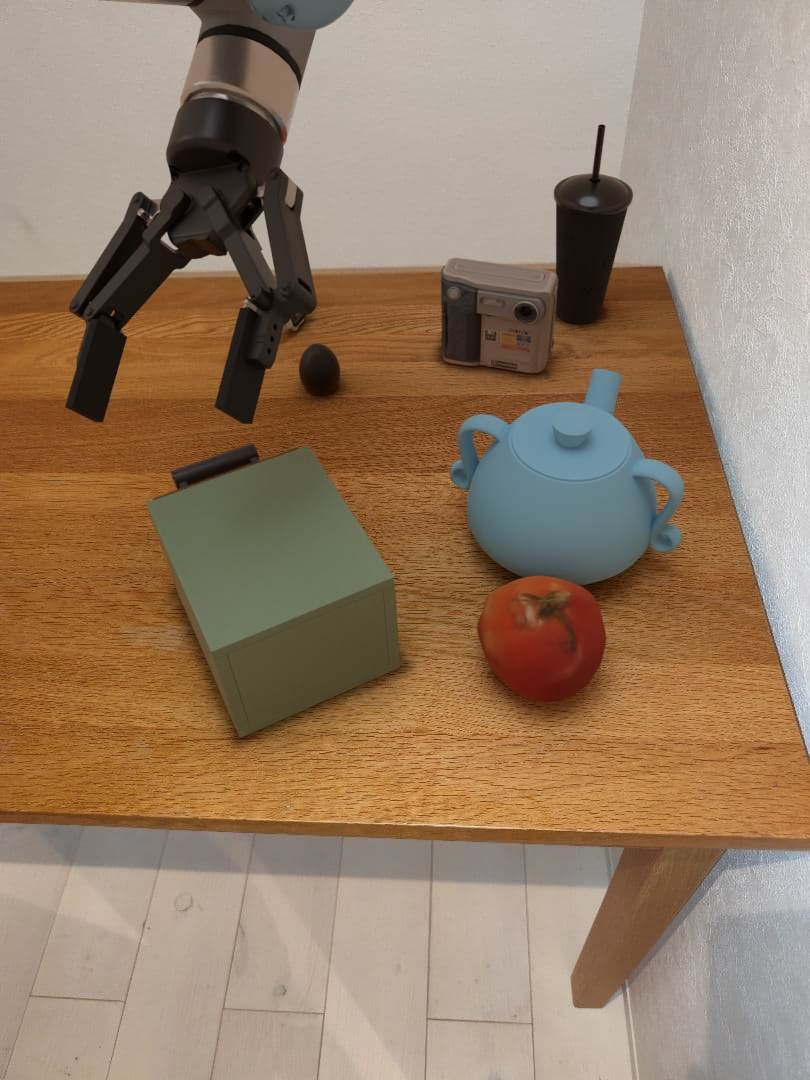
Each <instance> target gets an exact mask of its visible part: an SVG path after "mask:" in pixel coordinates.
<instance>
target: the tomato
mask: <svg viewBox="0 0 810 1080" xmlns="http://www.w3.org/2000/svg"><path fill="white" fill-rule="evenodd" d="M476 632H477V636H478V641H479V643H480V646H481V649H482V652H483V655H484V657H485V659H486V661H487V664H488V665H489V667H490V669H491V670H492V672H493V673H494V674H495V675H496V676H497V677H498V678H499V680H500V681H501V683H503V685H505V686H506V687H508V689H510V690H512V691H513V692H515V693H516V694H518V695H520V696H522V697H523V698H525V699H528V700H531V701H533V702H537V703H542V704H553V703H558V702H559V703H560V702H562V701H565V700H568V699H569V698H572V697H574V696H575V695H578V694H579V693H581V692H582V691H583V690H584V689H585V688H586V687H587V686H588V685H589V684H590V682H591V681H592V680H593V678H594V677H595V675H596V674H597V672H598V670H599V669H600V666H601V665H602V661H603V657H604V653H605V648H606V642H607V634H606V633H607V632H606V628H605V623H604V620H603V615H602V611H601V608H600V605H599V604H598V602H597V601H596V599H595V596H593V594H592V593H591V592H590V591H589V590H588V589H587V588H585V587H583V586H582V585H577V584H574V583H572V582H569V581H566V580H563V579H560V578H555V577H550V576H530V577H525V578H524V577H521V578H518V579H515V580H513V581H511V582H507V583H506V584H503V585H501V586H499V587H497V588H496V589H494V590H493V591H492V592H490V594H488V596H487V597H486V599H485V600H484V604H483V607H482V609H481V612H480V614H479V618H478V621H477V625H476Z"/></svg>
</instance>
